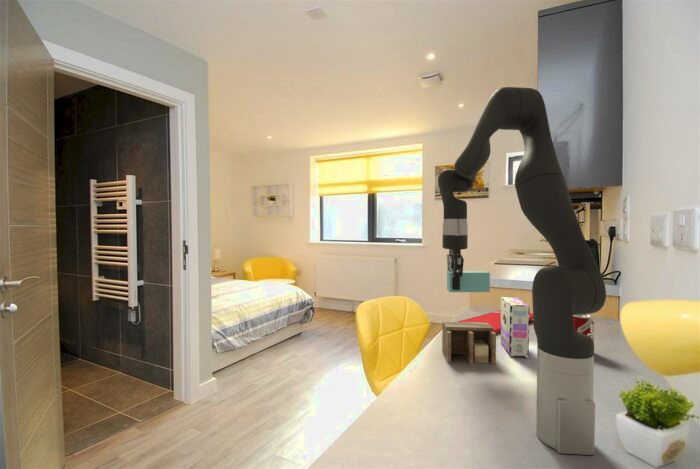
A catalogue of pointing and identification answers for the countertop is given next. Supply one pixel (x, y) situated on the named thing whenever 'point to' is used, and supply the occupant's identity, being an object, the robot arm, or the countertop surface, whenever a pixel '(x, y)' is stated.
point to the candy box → (515, 327)
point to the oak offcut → (480, 351)
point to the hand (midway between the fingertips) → (454, 288)
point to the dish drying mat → (491, 320)
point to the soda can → (584, 325)
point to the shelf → (467, 339)
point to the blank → (471, 281)
